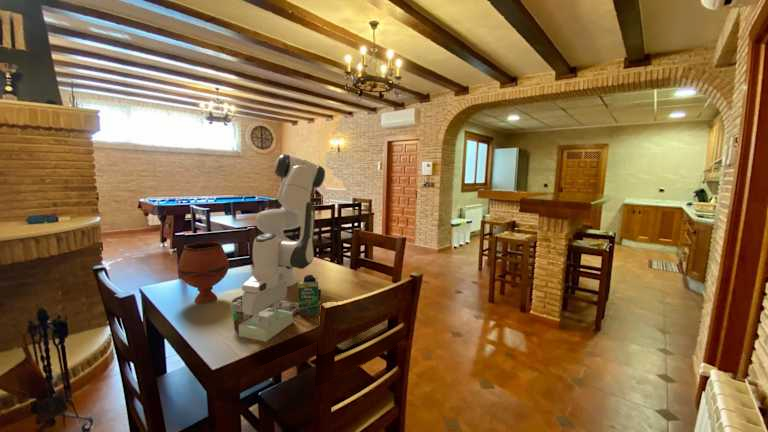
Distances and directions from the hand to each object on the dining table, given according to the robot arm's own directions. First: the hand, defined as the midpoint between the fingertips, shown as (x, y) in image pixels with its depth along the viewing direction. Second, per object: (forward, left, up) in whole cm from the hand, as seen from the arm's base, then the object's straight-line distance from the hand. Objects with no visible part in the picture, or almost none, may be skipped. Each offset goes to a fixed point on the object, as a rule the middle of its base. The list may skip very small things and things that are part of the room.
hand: (267, 316), depth 113 cm
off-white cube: (0, 0, -4) cm, 4 cm away
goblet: (-42, +12, -5) cm, 45 cm away
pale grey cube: (-2, +14, -5) cm, 15 cm away
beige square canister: (+2, +27, -5) cm, 28 cm away
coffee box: (+7, +16, -5) cm, 19 cm away
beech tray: (-5, +14, -5) cm, 16 cm away
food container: (-11, -1, -5) cm, 12 cm away
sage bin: (0, 0, -5) cm, 5 cm away
